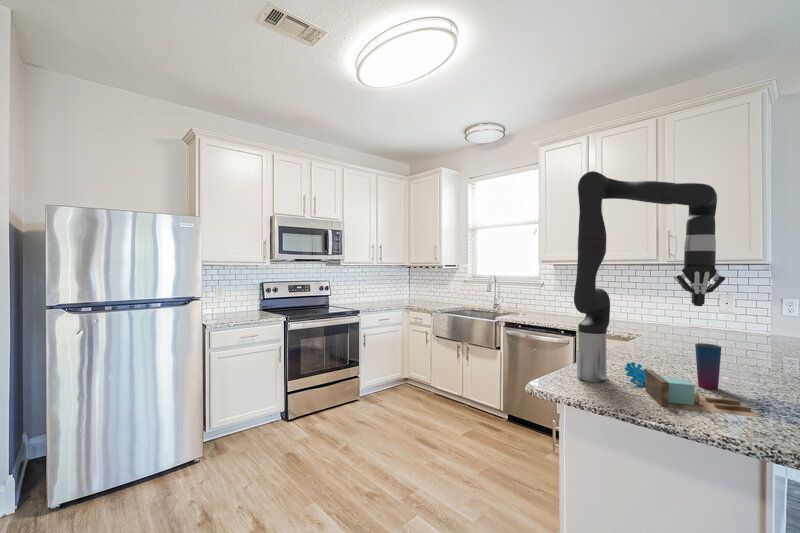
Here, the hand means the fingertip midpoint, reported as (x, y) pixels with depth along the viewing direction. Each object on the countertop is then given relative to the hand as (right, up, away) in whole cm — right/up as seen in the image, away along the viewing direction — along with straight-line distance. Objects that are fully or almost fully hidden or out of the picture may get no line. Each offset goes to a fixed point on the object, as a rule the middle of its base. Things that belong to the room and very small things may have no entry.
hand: (698, 305), depth 114 cm
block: (-10, -28, -4) cm, 30 cm away
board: (-4, -29, -5) cm, 30 cm away
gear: (-9, -29, +13) cm, 33 cm away
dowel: (-8, -28, -4) cm, 30 cm away
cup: (+11, -30, +10) cm, 33 cm away
